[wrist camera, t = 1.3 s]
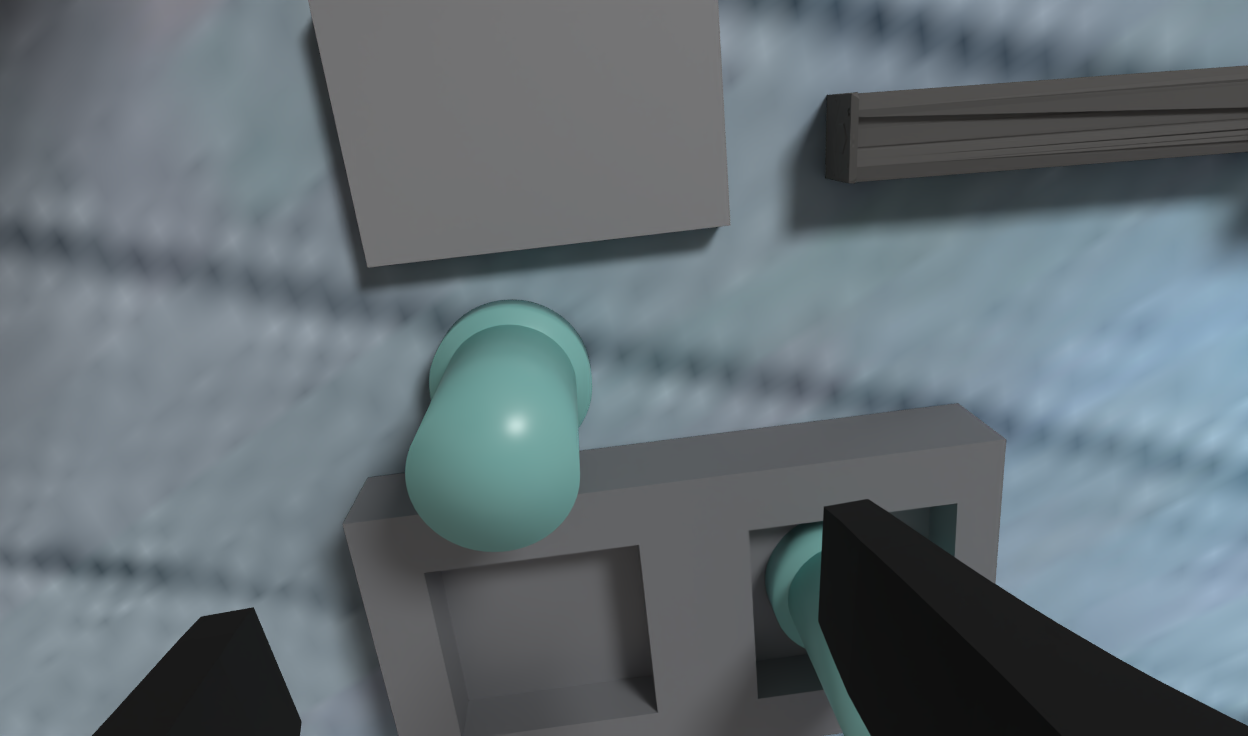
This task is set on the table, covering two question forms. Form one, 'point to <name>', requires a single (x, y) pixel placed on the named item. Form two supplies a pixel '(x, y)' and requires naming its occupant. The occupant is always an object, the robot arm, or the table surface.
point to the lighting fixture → (1036, 124)
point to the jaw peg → (501, 428)
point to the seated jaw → (808, 613)
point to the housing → (655, 580)
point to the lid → (524, 121)
